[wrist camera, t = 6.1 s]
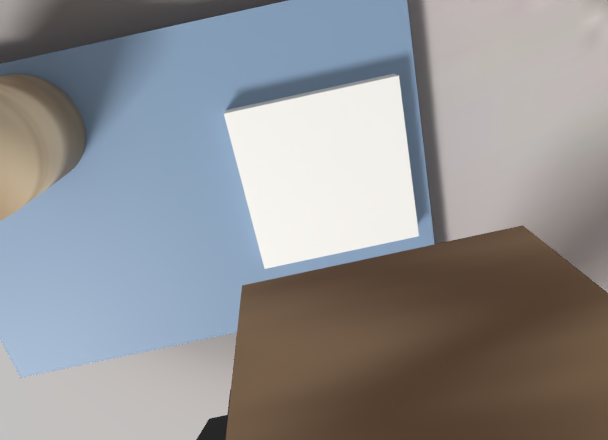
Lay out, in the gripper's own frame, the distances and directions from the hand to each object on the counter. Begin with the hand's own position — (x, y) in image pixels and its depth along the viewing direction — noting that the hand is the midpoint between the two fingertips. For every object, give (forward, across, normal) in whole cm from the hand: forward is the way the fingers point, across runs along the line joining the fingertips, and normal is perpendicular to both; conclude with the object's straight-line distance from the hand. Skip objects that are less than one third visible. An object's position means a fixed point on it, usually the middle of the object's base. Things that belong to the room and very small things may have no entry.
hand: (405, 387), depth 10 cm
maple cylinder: (+16, +13, -5) cm, 21 cm away
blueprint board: (+17, +7, 0) cm, 18 cm away
